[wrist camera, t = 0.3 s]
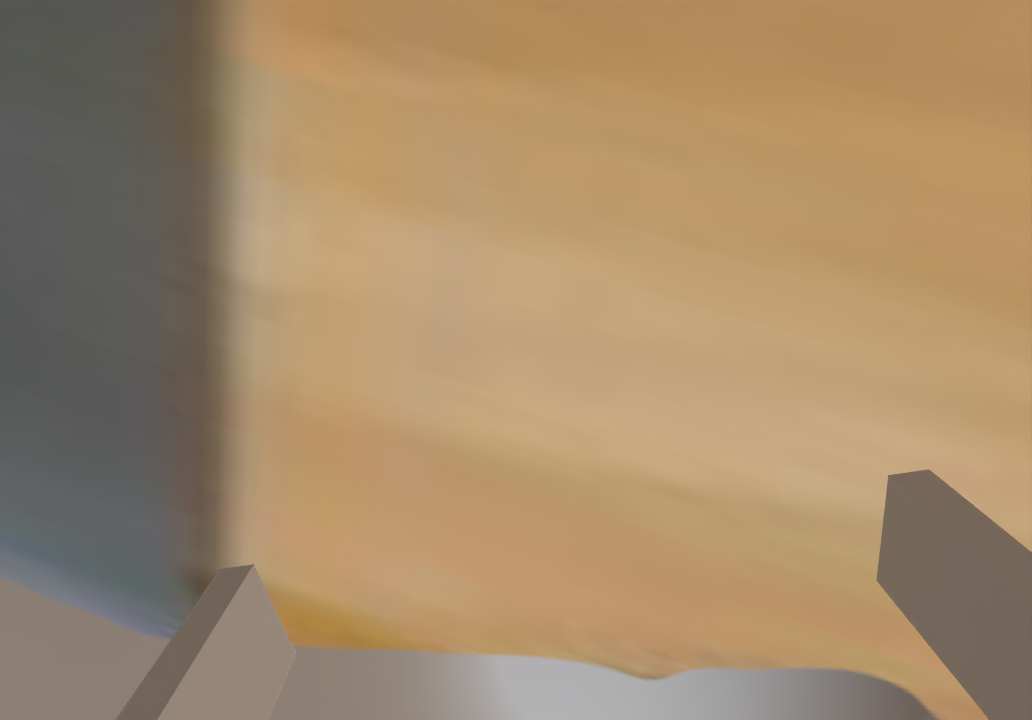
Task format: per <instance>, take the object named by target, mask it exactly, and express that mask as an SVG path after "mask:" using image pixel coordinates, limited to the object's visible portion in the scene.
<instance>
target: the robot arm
mask: <svg viewBox="0 0 1032 720" xmlns="http://www.w3.org/2000/svg"><path fill="white" fill-rule="evenodd" d="M877 582H878V583H879V584H880V585H881V586H882V588H883V589H884V590H885V591H886V593H887V594H888V595H889V596H890V598H891V599H892V600H893V601H894V603H895V604H896V605H897V606H898V607H899V609H900V610H901V611H902V612H903V614H904V615H905V616H906V617H907V619H908V620H909V621H910V622H911V624H912V625H913V626H914V627H915V628H916V630H917V631H918V632H919V633H920V635H921V636H922V637H923V638H924V640H925V641H926V642H927V643H928V645H929V646H930V647H931V648H932V649H933V651H934V652H935V653H936V654H937V656H938V657H939V658H940V659H941V661H942V662H943V663H944V664H945V666H946V667H947V668H948V669H949V670H950V672H951V673H952V674H953V675H954V677H955V678H956V679H957V680H958V682H959V683H960V684H961V685H962V687H963V688H964V689H965V690H966V691H967V693H968V694H969V695H970V696H971V698H972V699H973V700H974V701H975V703H976V704H977V705H978V706H979V708H980V709H981V710H982V711H983V712H984V714H985V715H986V716H987V717H988V719H989V720H1032V552H1030V551H1029V550H1028V549H1027V548H1026V547H1024V546H1023V545H1022V544H1021V543H1019V542H1018V541H1017V540H1016V539H1014V538H1013V537H1012V536H1011V535H1009V534H1008V533H1007V532H1006V531H1005V530H1003V529H1002V528H1001V527H1000V526H998V525H997V524H996V523H995V522H993V521H992V520H991V519H990V518H988V517H987V516H986V515H985V514H983V513H982V512H981V511H980V510H979V509H977V508H976V507H975V506H974V505H972V504H971V503H970V502H969V501H967V500H966V499H965V498H964V497H962V496H961V495H960V494H959V493H957V492H956V491H955V490H954V489H953V488H951V487H950V486H949V485H948V484H946V483H945V482H944V481H943V480H941V479H940V478H939V477H938V476H936V475H935V474H934V473H933V472H931V471H930V470H922V471H915V472H908V473H901V474H894V475H888V484H887V493H886V501H885V510H884V519H883V528H882V537H881V546H880V555H879V564H878V573H877ZM296 655H297V654H296V651H295V649H294V647H293V645H292V643H291V641H290V639H289V637H288V635H287V633H286V631H285V629H284V626H283V624H282V622H281V620H280V618H279V616H278V614H277V612H276V610H275V608H274V606H273V604H272V601H271V599H270V597H269V595H268V593H267V591H266V589H265V587H264V585H263V583H262V581H261V579H260V577H259V574H258V572H257V570H256V568H255V566H254V564H253V565H246V566H239V567H231V568H224V569H220V570H219V571H218V573H217V574H216V575H215V577H214V578H213V580H212V581H211V583H210V584H209V586H208V587H207V588H206V590H205V591H204V593H203V594H202V596H201V597H200V599H199V600H198V602H197V603H196V604H195V606H194V607H193V609H192V610H191V612H190V613H189V615H188V616H187V617H186V619H185V620H184V622H183V623H182V625H181V626H180V628H179V629H178V630H177V632H176V633H175V635H174V636H173V638H172V639H171V641H170V642H169V643H168V645H167V646H166V648H165V649H164V651H163V652H162V654H161V655H160V657H159V658H158V660H157V661H156V662H155V664H154V665H153V667H152V668H151V669H150V671H149V672H148V674H147V675H146V677H145V678H144V680H143V681H142V683H141V684H140V685H139V687H138V688H137V690H136V691H135V693H134V694H133V696H132V697H131V698H130V700H129V701H128V703H127V704H126V706H125V707H124V709H123V710H122V711H121V713H120V715H119V716H118V717H117V719H116V720H269V717H270V715H271V713H272V711H273V708H274V706H275V703H276V701H277V699H278V696H279V694H280V692H281V690H282V687H283V685H284V682H285V680H286V678H287V676H288V673H289V671H290V668H291V666H292V664H293V661H294V659H295V657H296Z"/></svg>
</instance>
